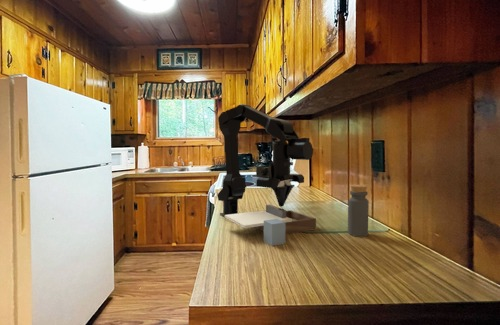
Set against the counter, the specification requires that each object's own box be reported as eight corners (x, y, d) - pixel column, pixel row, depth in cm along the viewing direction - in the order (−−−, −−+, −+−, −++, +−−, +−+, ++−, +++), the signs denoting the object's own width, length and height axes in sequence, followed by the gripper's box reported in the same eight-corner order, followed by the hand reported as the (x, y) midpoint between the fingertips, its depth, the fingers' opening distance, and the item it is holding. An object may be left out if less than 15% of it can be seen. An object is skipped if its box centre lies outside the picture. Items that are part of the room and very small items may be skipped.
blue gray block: (263, 241, 85) (263, 220, 84) (276, 239, 87) (276, 218, 86) (271, 246, 81) (271, 224, 80) (285, 243, 83) (285, 222, 83)
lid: (224, 217, 97) (224, 207, 97) (267, 212, 105) (267, 203, 105) (244, 228, 85) (244, 217, 84) (291, 221, 92) (292, 211, 92)
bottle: (364, 231, 94) (365, 184, 94) (370, 237, 89) (371, 187, 88) (345, 231, 95) (346, 184, 94) (350, 236, 89) (351, 186, 88)
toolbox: (252, 225, 102) (252, 214, 102) (290, 219, 109) (290, 210, 109) (274, 236, 90) (274, 224, 89) (315, 229, 97) (316, 218, 97)
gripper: (279, 157, 110) (279, 199, 111) (243, 159, 96) (244, 207, 97) (305, 158, 102) (304, 203, 103) (270, 160, 89) (270, 212, 90)
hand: (281, 206), depth 99 cm, fingers closed
